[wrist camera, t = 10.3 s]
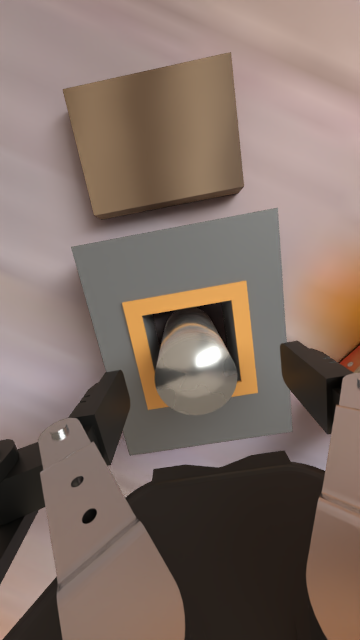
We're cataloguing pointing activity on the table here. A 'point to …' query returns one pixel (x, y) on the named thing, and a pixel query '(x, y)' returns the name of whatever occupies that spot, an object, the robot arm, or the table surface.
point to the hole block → (183, 292)
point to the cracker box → (352, 361)
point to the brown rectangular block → (158, 136)
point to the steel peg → (194, 364)
